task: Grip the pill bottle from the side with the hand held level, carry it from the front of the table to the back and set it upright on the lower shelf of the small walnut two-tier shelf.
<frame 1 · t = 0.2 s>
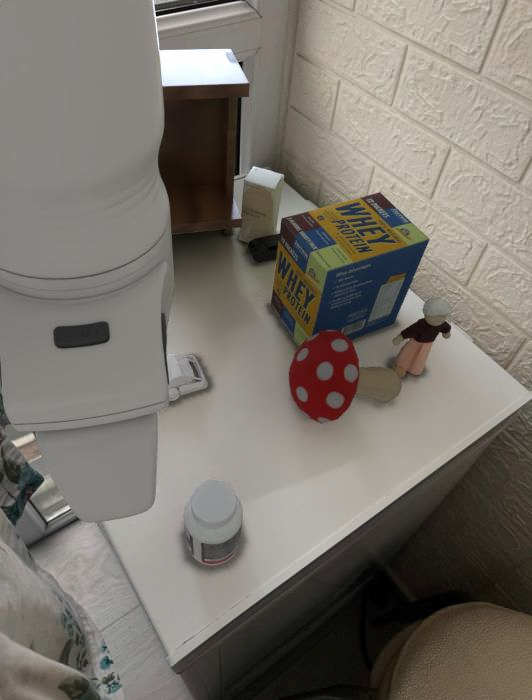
hand: (118, 410, 36), 21 cm above the cabinet top, tool pointing down, fingers open, 8 cm apart
protein box: (332, 316, 73), on the cabinet top
box: (258, 238, 83), on the cabinet top
pill bottle: (67, 306, 70), on the cabinet top
grandmother figurine: (408, 368, 68), on the cabinet top
pill bottle 2: (213, 539, 51), on the cabinet top
toy car: (156, 386, 63), on the cabinet top
shelf: (190, 240, 80), on the cabinet top
cup: (86, 265, 75), on the cabinet top
decorative mushroom: (338, 394, 64), on the cabinet top
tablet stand: (300, 249, 82), on the cabinet top
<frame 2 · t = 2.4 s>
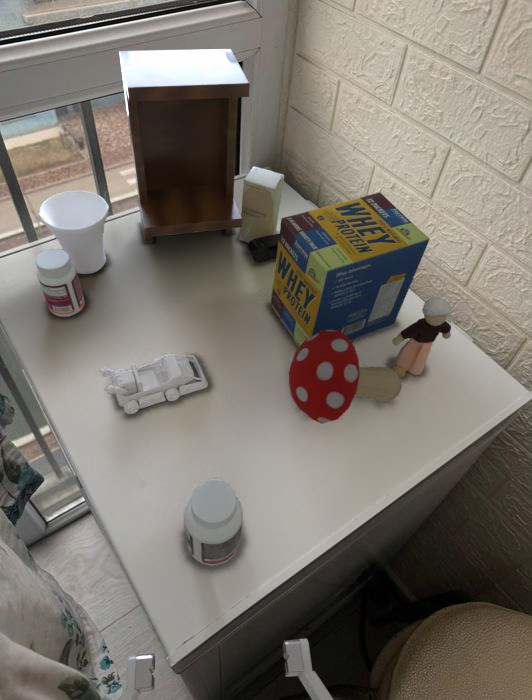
hand: (219, 648, 31), 16 cm above the cabinet top, tool horizontal, fingers open, 8 cm apart
nothing on the cabinet top moved.
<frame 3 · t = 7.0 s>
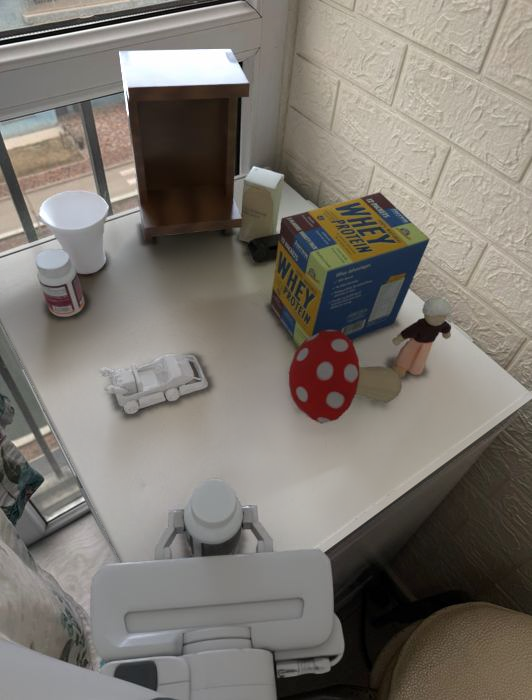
hand: (212, 509, 48), 6 cm above the cabinet top, tool horizontal, fingers closed on pill bottle 2, 5 cm apart
pill bottle 2: (213, 539, 51), on the cabinet top, touching gripper
everything else where it was.
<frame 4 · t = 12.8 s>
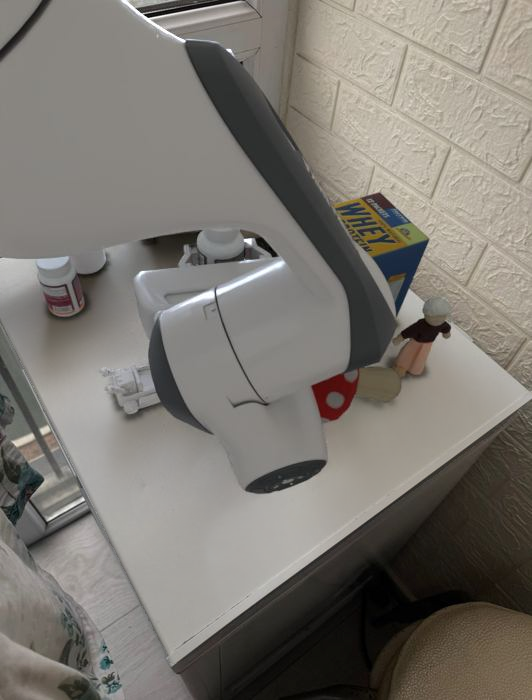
hand: (218, 246, 58), 14 cm above the cabinet top, tool horizontal, fingers closed on pill bottle 2, 5 cm apart
pill bottle 2: (220, 287, 62), point 8 cm above the cabinet top, touching gripper
everything else where it was.
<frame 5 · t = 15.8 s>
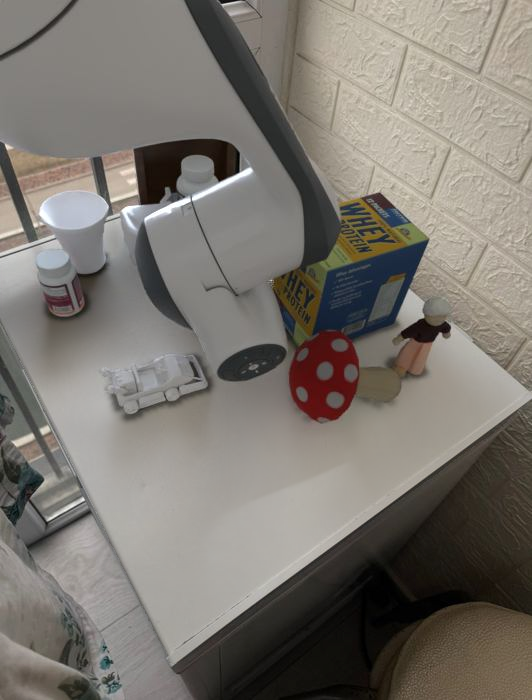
hand: (196, 189, 66), 14 cm above the cabinet top, tool horizontal, fingers closed on pill bottle 2, 5 cm apart
pill bottle 2: (199, 229, 69), point 8 cm above the cabinet top, touching gripper
everything else where it was.
when the fingers open (13 cm above the cabinet top, at t = 18.5 s): pill bottle 2 stays where it is, resting on shelf.
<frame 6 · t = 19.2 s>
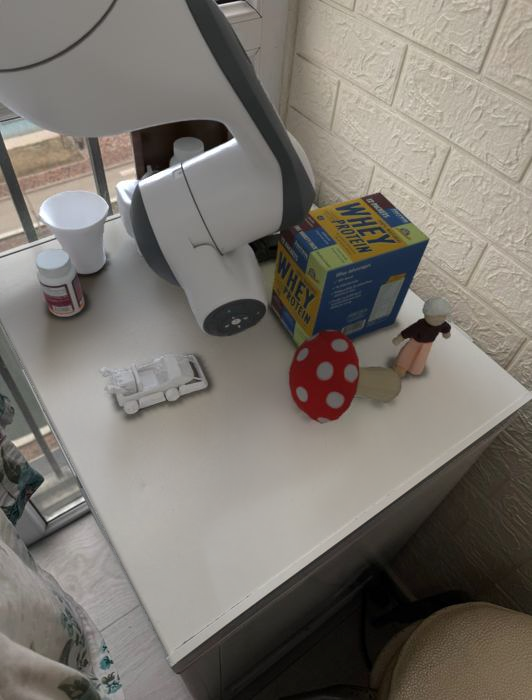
hand: (186, 167, 70), 13 cm above the cabinet top, tool horizontal, fingers open, 8 cm apart
pill bottle 2: (190, 208, 75), point 7 cm above the cabinet top, touching shelf
everything else where it was.
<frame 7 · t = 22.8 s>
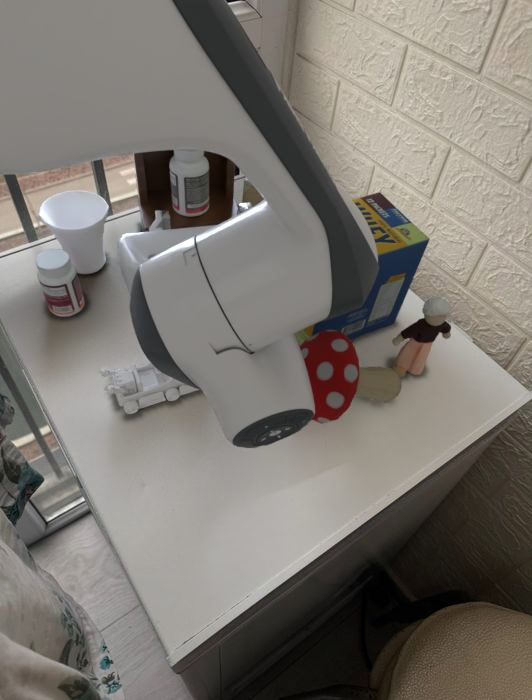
hand: (203, 211, 58), 17 cm above the cabinet top, tool horizontal, fingers open, 8 cm apart
nothing on the cabinet top moved.
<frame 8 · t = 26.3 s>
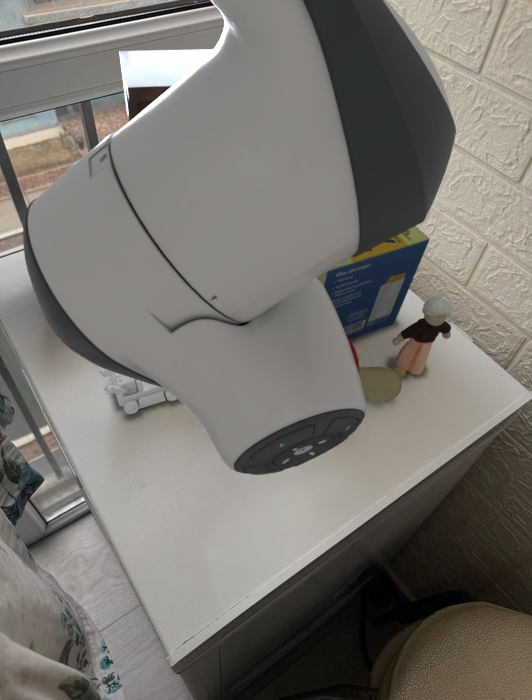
hand: (194, 139, 42), 30 cm above the cabinet top, tool horizontal, fingers open, 8 cm apart
nothing on the cabinet top moved.
at the end: pill bottle 2 inside the target area on the shelf (0.4 cm from its centre), point 6.8 cm above the shelf's base; pill bottle 2 tilted 0°; the gripper is holding nothing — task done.
